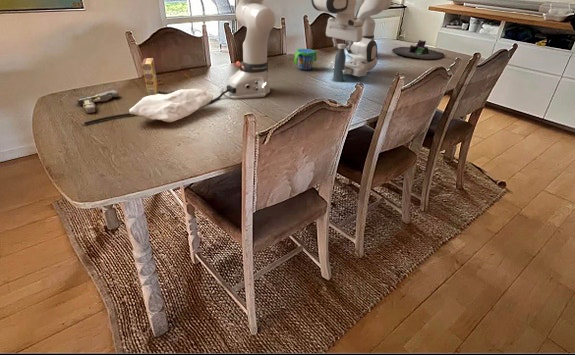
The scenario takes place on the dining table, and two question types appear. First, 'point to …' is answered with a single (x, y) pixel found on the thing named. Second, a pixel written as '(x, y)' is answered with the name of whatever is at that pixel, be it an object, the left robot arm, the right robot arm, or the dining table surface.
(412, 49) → the dark round tray
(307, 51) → the snack cup
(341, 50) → the bottle
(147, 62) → the candy box
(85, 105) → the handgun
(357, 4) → the right robot arm
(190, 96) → the crumpled cloth
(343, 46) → the cap
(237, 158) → the dining table surface
